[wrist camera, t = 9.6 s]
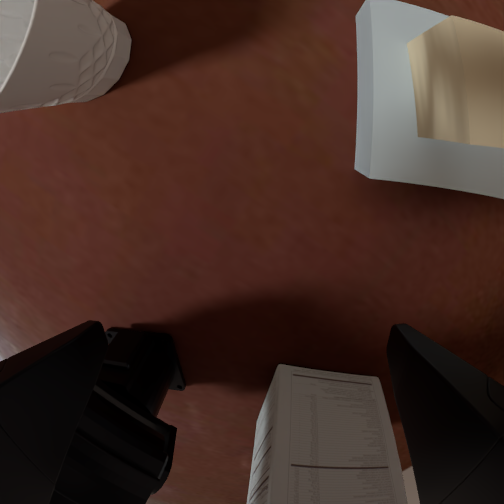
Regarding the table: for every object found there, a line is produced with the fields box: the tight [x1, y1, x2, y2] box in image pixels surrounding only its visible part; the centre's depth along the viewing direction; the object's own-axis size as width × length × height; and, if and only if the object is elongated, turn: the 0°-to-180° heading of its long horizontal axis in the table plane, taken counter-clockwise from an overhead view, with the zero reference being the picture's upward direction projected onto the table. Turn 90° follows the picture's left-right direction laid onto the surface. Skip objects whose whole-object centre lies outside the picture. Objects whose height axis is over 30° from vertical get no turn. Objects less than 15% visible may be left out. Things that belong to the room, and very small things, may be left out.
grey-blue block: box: [355, 0, 504, 199], centre depth 13 cm, size 10×10×4 cm
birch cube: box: [407, 15, 504, 148], centre depth 9 cm, size 5×5×5 cm
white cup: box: [0, 0, 132, 113], centre depth 11 cm, size 8×8×10 cm
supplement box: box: [247, 364, 408, 504], centre depth 17 cm, size 10×9×17 cm
